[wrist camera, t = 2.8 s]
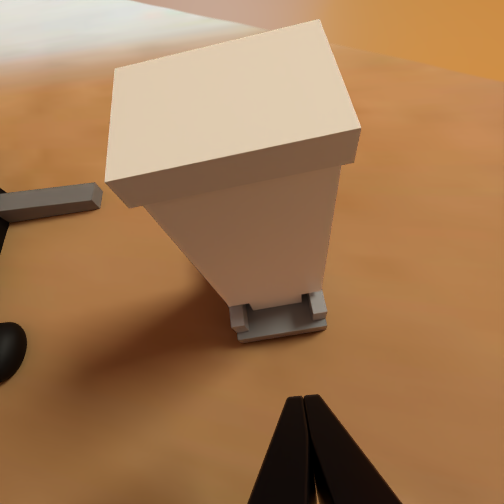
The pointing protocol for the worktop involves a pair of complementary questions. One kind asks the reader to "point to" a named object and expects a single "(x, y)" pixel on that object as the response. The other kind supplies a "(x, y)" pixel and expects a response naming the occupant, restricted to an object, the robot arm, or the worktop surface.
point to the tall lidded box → (238, 157)
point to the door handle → (25, 208)
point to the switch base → (279, 319)
